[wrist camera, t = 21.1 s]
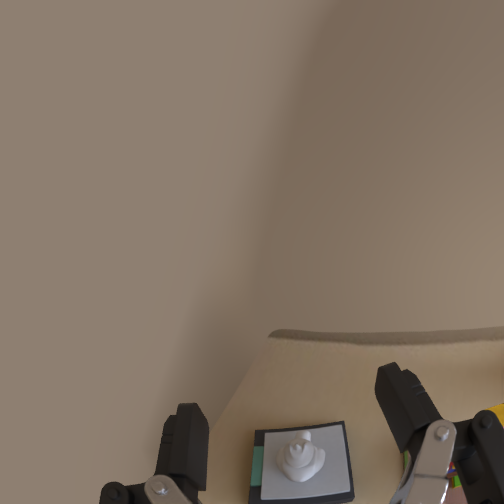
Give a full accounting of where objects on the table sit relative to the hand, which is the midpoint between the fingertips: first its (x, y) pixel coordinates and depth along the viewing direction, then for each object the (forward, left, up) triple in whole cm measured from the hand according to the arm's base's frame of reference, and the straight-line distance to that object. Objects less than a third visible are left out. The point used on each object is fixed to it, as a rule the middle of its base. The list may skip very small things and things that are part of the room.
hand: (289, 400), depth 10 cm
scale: (-1, +6, -26) cm, 27 cm away
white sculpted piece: (-1, +6, -23) cm, 24 cm away
